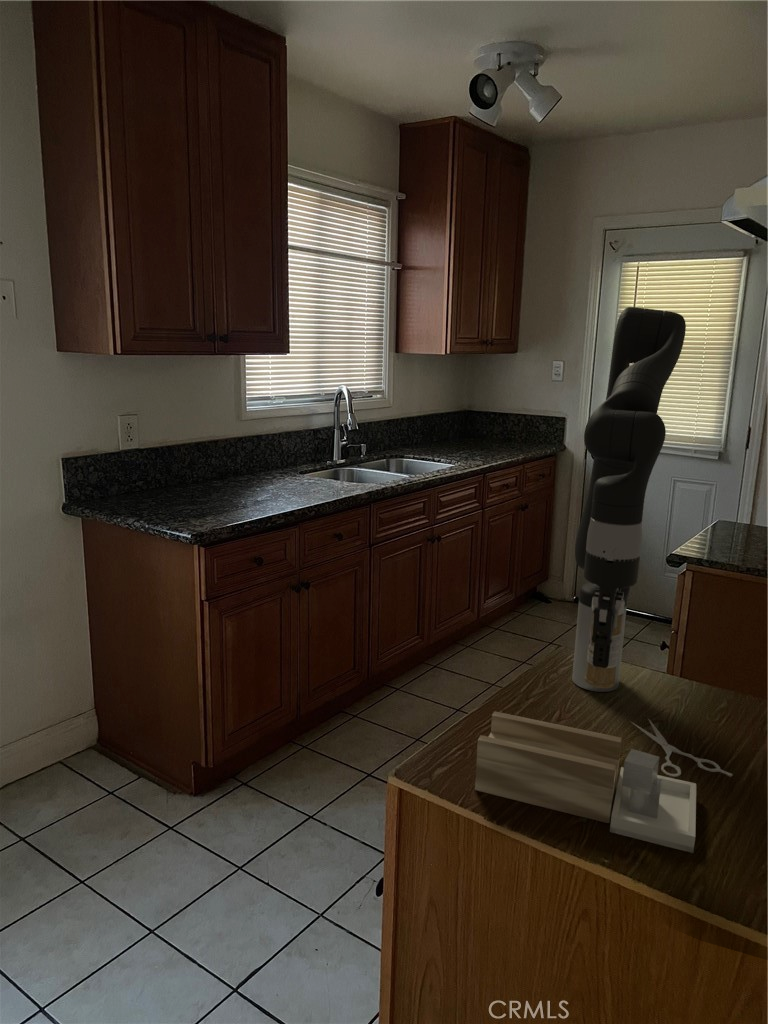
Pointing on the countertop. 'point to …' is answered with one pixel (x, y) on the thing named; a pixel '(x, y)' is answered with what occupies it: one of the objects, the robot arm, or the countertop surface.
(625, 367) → the robot arm
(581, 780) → the channel
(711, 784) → the countertop surface
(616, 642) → the sprinkles bottle
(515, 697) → the countertop surface
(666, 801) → the tray
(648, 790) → the grey cube
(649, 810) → the dark grey cube
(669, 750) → the scissors
